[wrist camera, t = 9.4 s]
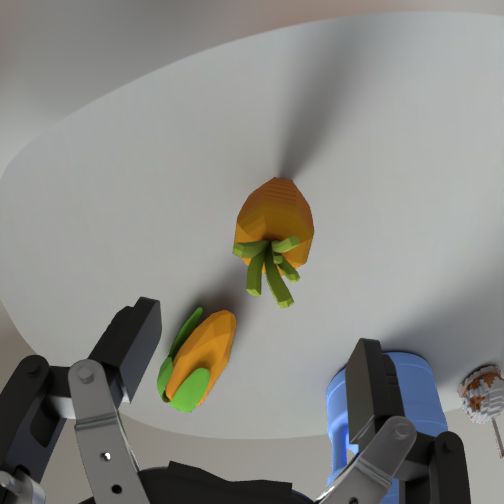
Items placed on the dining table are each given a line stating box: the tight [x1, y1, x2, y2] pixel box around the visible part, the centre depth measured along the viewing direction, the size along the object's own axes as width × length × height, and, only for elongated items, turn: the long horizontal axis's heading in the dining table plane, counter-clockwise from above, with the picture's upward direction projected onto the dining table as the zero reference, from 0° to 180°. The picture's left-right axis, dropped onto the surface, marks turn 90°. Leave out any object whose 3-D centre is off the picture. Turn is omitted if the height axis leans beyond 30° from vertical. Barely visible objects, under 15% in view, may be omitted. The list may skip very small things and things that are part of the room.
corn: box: [157, 307, 237, 412], centre depth 36 cm, size 7×8×20 cm
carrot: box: [233, 177, 314, 308], centre depth 21 cm, size 5×5×15 cm
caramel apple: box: [458, 366, 504, 458], centre depth 31 cm, size 8×8×15 cm
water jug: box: [326, 352, 448, 504], centre depth 28 cm, size 16×16×28 cm
